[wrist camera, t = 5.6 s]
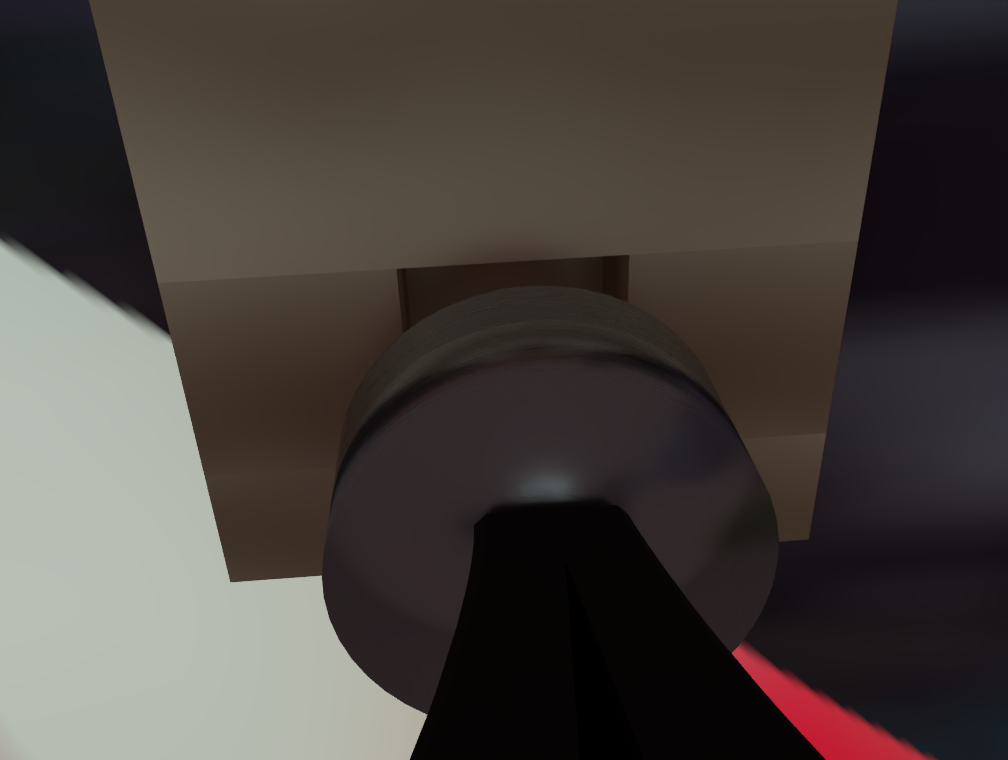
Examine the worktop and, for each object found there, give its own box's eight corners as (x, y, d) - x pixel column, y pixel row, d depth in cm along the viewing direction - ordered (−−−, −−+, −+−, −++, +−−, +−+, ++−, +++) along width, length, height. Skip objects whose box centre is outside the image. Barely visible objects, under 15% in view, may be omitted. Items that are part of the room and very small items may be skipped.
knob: (331, 229, 11) (288, 400, 8) (692, 207, 11) (806, 367, 8) (370, 516, 13) (351, 750, 10) (672, 494, 14) (754, 717, 10)
